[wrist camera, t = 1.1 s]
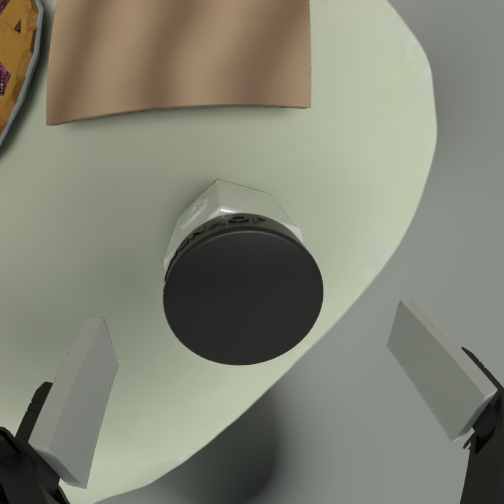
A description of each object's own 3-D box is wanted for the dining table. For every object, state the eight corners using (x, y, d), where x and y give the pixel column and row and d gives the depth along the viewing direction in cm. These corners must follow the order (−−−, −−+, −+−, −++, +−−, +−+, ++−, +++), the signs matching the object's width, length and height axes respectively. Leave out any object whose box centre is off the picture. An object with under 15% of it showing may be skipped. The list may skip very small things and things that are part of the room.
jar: (236, 158, 24) (258, 181, 13) (299, 228, 27) (358, 297, 16) (158, 233, 25) (124, 310, 14) (224, 292, 28) (236, 389, 17)
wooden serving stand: (74, 125, 20) (46, 125, 16) (93, -45, 14) (76, -68, 9) (291, 111, 23) (310, 107, 18) (288, -57, 16) (302, -84, 11)
